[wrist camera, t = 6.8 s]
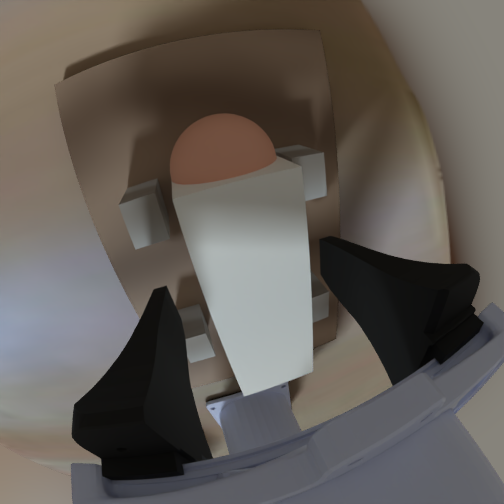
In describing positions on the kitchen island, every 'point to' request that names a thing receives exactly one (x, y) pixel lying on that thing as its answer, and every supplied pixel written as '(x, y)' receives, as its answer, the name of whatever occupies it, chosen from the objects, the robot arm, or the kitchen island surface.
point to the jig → (161, 146)
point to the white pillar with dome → (247, 246)
